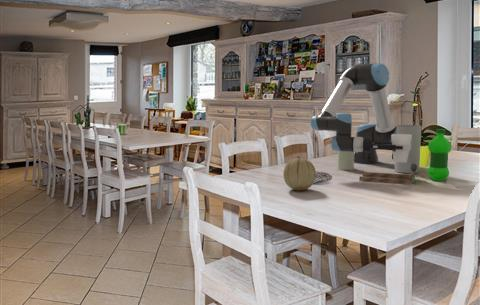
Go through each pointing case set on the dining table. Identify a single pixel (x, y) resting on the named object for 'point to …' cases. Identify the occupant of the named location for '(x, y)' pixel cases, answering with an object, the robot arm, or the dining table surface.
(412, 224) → the dining table surface
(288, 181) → the cantaloupe
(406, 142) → the foam cup
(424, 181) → the dining table surface
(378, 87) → the robot arm
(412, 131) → the cylinder vase
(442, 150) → the plastic bottle
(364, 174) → the wooden tray
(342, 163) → the can
